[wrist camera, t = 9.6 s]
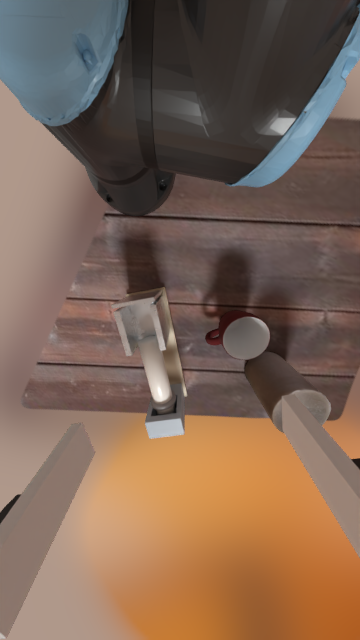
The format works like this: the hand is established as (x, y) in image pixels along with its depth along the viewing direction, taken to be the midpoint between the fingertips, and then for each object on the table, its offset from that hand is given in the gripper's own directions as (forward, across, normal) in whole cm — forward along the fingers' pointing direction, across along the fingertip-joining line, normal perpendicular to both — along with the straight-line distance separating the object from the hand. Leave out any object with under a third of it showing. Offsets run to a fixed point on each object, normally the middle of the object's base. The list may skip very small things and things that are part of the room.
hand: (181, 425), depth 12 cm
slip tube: (+24, -7, -11) cm, 27 cm away
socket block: (+28, -7, -19) cm, 34 cm away
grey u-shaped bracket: (+28, -7, +1) cm, 29 cm away
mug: (+29, +9, -4) cm, 31 cm away
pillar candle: (+29, +17, -17) cm, 38 cm away
